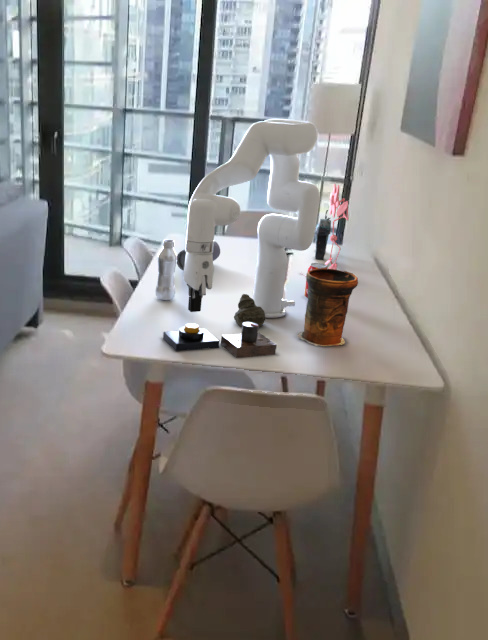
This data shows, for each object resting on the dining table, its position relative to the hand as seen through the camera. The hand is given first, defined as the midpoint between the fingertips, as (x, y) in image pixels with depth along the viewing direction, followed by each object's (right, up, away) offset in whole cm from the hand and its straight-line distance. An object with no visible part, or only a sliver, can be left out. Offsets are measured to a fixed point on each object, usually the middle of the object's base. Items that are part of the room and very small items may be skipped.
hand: (194, 310), depth 201 cm
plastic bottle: (-6, +7, +42) cm, 43 cm away
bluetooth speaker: (+10, +24, +81) cm, 85 cm away
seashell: (+19, -3, +19) cm, 27 cm away
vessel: (+39, -8, +11) cm, 41 cm away
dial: (+15, -8, -1) cm, 17 cm away
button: (-1, -6, +2) cm, 6 cm away
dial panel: (+15, -11, +1) cm, 19 cm away
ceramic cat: (+66, +34, +111) cm, 134 cm away
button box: (-1, -9, +4) cm, 10 cm away
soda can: (+47, +9, +50) cm, 70 cm away
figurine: (+58, +21, +81) cm, 101 cm away
